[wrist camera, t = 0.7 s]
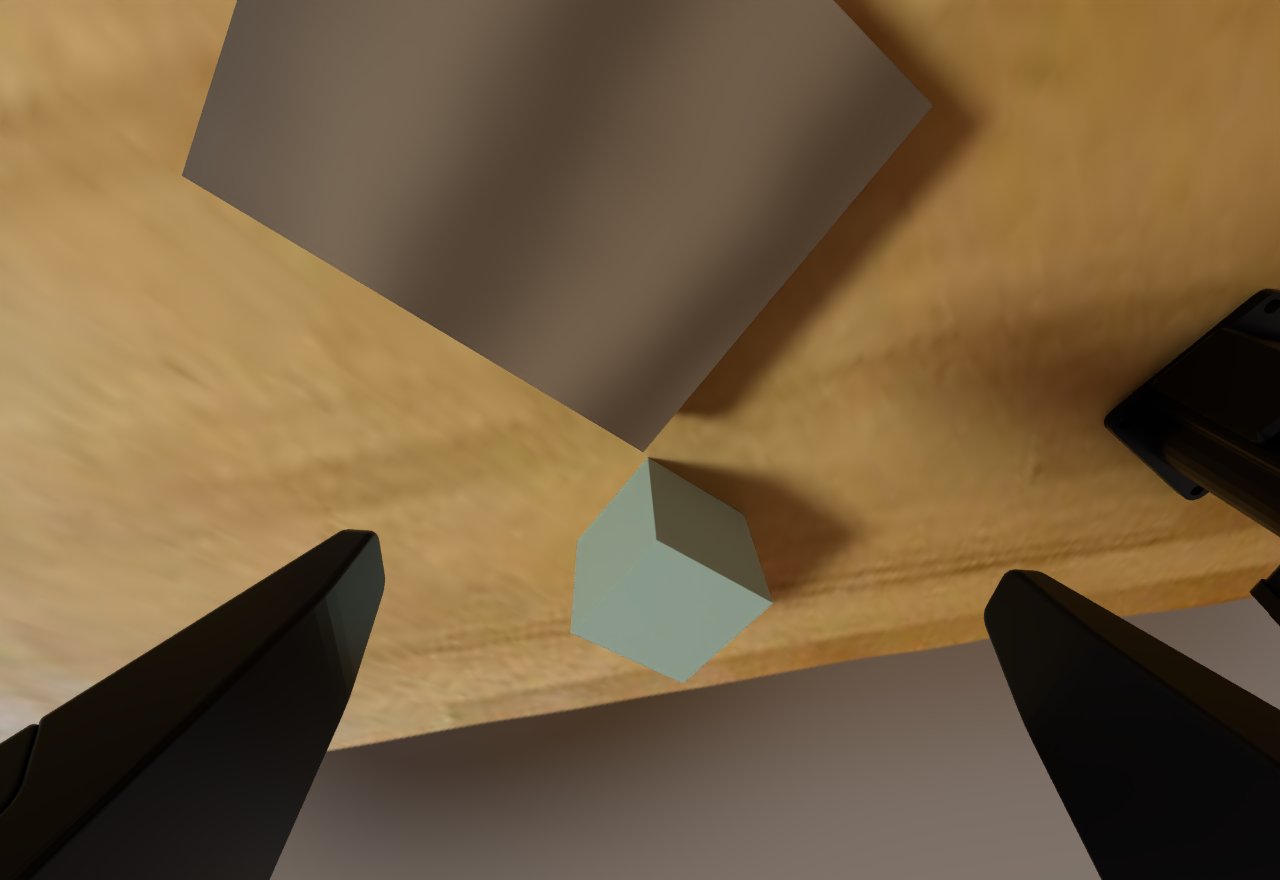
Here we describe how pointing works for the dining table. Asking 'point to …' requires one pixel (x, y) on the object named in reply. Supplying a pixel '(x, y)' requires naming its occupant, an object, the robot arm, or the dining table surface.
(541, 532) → the dining table surface
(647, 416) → the walnut block
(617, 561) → the sage cube
